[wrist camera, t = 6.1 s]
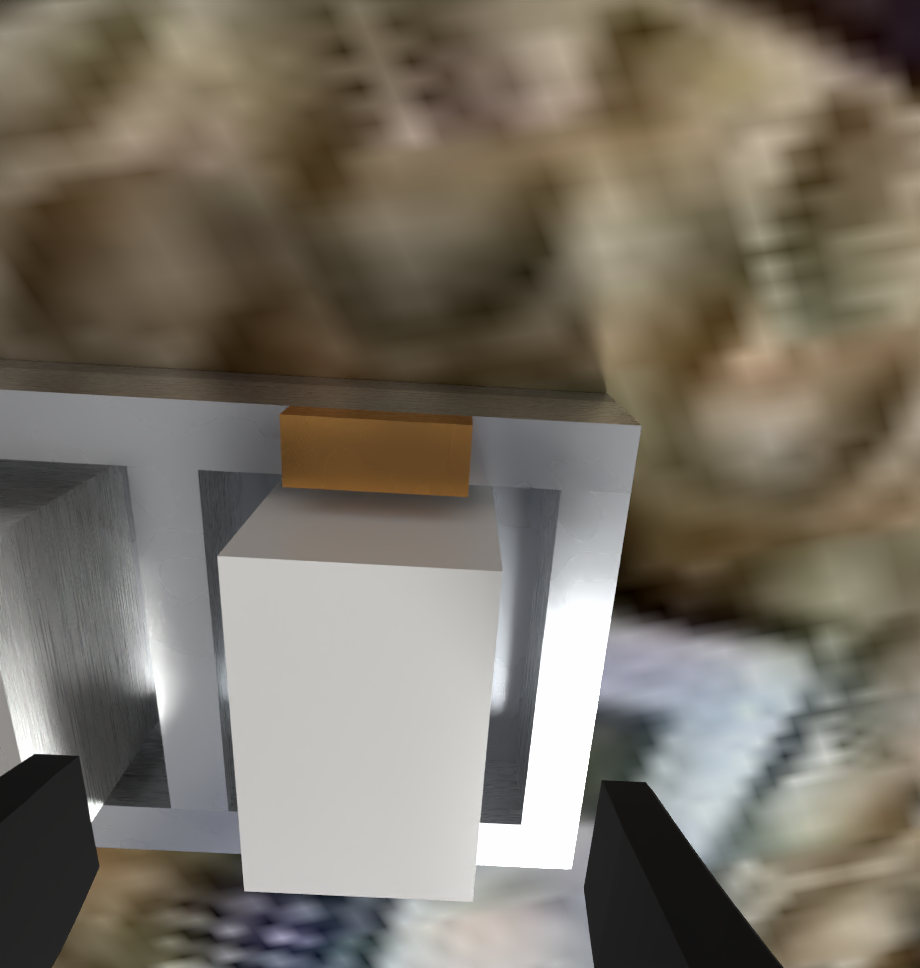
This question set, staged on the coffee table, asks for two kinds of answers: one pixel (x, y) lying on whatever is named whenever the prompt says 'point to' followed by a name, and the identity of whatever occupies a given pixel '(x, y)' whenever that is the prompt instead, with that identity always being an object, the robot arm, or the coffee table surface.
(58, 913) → the robot arm
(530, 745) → the rack
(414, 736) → the white rectangular block
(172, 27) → the coffee table surface
